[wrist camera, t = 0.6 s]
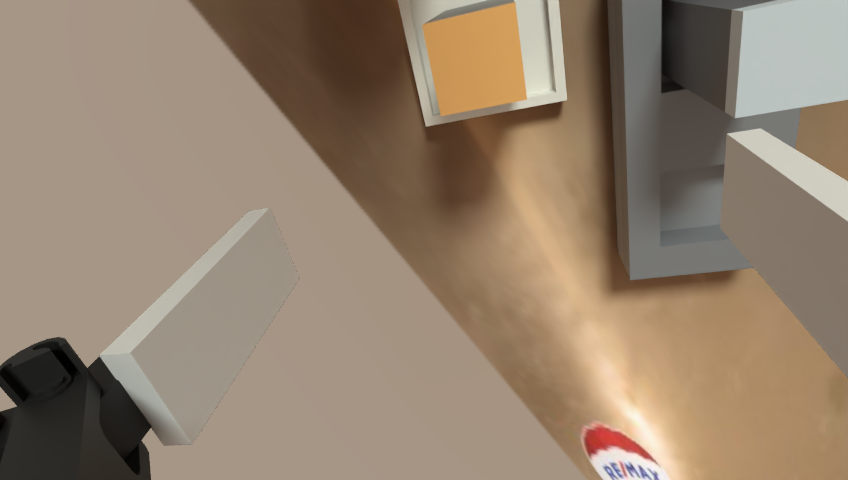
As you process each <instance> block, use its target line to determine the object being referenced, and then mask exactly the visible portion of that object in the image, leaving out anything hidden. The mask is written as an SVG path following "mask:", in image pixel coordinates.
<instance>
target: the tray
mask: <svg viewBox="0 0 848 480" xmlns="http://www.w3.org/2000/svg"><path fill="white" fill-rule="evenodd" d="M482 1H487V0H398V5H399V9H400V13H401V18H402V22H403V27H404V31H405V36H406V40H407V45H408V49H409V54H410V58H411V63H412V67H413V71H414V76H415V80H416V85H417V89H418V94H419V98H420V103H421V107H422V112H423V116H424V121H425V125H426V127H427V126H432V125H438V124H443V123H448V122H454V121H459V120H464V119H470V118H475V117H480V116H486V115H491V114H496V113H502V112H507V111H512V110H517V109H523V108H528V107H533V106H539V105H544V104H549V103H555V102H560V101H565V100H567V94H566V82H565V70H564V58H563V46H562V34H561V22H560V10H559V0H514V1H515V4H516V12H517V20H518V29H519V37H520V45H521V53H522V61H523V70H524V78H525V86H526V94H527V100H523V101H518V102H512V103H507V104H502V105H497V106H491V107H486V108H481V109H476V110H471V111H465V112H460V113H455V114H450V115H445V116H441V115H440V110H439V105H438V100H437V96H436V91H435V86H434V81H433V76H432V71H431V67H430V62H429V57H428V52H427V47H426V42H425V38H424V33H423V28H422V25H423V24H425V23H426V22H428V21H429V20H431V19H433V18H434V17H436V16H437V15H439V14H441V13H442V12H444V11H446V10H450V9H454V8H458V7H462V6H466V5H470V4H474V3H478V2H482Z"/></svg>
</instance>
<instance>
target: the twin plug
mask: <svg viewBox="0 0 848 480" xmlns="http://www.w3.org/2000/svg"><path fill="white" fill-rule="evenodd" d="M662 74H663V75H664V76H666V77H668V78H669V79H671V80H673V81H674V82H676V83H678V84H679V85H681V86H683V87H684V88H686V89H687V90H689V91H691V92H692V93H694V94H696V95H697V96H699V97H701V98H702V99H704V100H706V101H707V102H709V103H711V104H712V105H714V106H716V107H717V108H719V109H720V110H722V111H724V112H725V113H727V114H729V115H730V116H732V117H734V118H740V117H746V116H752V115H758V114H764V113H770V112H776V111H782V110H788V109H794V108H800V107H806V106H812V105H818V104H824V103H830V102H836V101H842V100H848V0H663V10H662Z"/></svg>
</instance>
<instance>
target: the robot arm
mask: <svg viewBox="0 0 848 480" xmlns="http://www.w3.org/2000/svg"><path fill="white" fill-rule="evenodd" d="M720 228H721V230H722V231H723V232H724V233H725V234H726V236H727V237H728V238H729V239H730V240H731V241H732V243H733V244H734V245H735V246H736V247H737V248H738V250H739V251H740V252H741V253H742V254H743V256H744V257H745V258H746V259H747V260H748V261H749V263H750V264H751V265H752V266H753V267H754V268H755V270H756V271H757V272H758V273H759V274H760V275H761V277H762V278H763V279H764V280H765V281H766V283H767V284H768V285H769V286H770V287H771V288H772V290H773V291H774V292H775V293H776V294H777V295H778V297H779V298H780V299H781V300H782V301H783V303H784V304H785V305H786V306H787V307H788V308H789V310H790V311H791V312H792V313H793V314H794V315H795V317H796V318H797V319H798V320H799V321H800V323H801V324H802V325H803V326H804V327H805V328H806V330H807V331H808V332H809V333H810V334H811V335H812V337H813V338H814V339H815V340H816V341H817V342H818V344H819V345H820V346H821V347H822V348H823V350H824V351H825V352H826V353H827V354H828V355H829V357H830V358H831V359H832V360H833V361H834V362H835V364H836V365H837V366H838V367H839V368H840V370H841V371H842V372H843V373H844V374H845V375H846V377H847V378H848V181H846V180H845V179H843V178H841V177H840V176H838V175H836V174H835V173H833V172H831V171H830V170H828V169H827V168H825V167H823V166H822V165H820V164H818V163H817V162H815V161H813V160H812V159H810V158H809V157H807V156H805V155H804V154H802V153H800V152H799V151H797V150H795V149H794V148H792V147H790V146H789V145H787V144H786V143H784V142H782V141H781V140H779V139H777V138H776V137H774V136H772V135H771V134H769V133H768V132H766V131H764V130H763V129H761V128H759V129H753V130H747V131H741V132H734V133H728V134H727V138H726V152H725V165H724V179H723V192H722V205H721V219H720ZM298 280H299V276H298V274H297V271H296V269H295V266H294V264H293V262H292V259H291V257H290V254H289V252H288V250H287V247H286V245H285V242H284V240H283V238H282V235H281V233H280V231H279V228H278V226H277V223H276V221H275V218H274V216H273V214H272V211H271V209H270V208H264V209H258V210H251V211H248V212H247V213H246V214H245V215H244V216H243V217H242V218H241V219H240V220H239V221H238V222H237V223H236V224H235V225H234V226H233V227H232V228H231V229H230V230H229V231H228V232H226V233H225V234H224V235H223V236H222V237H221V238H220V239H219V240H218V241H217V242H216V243H215V244H214V245H213V246H212V247H211V248H210V249H209V250H208V251H207V252H206V253H205V254H204V255H203V256H202V257H201V258H200V259H198V261H197V262H195V263H194V264H193V265H192V266H191V267H190V268H189V269H188V270H187V271H186V272H185V273H184V274H183V275H182V276H181V277H180V278H179V279H178V280H177V281H176V282H175V283H174V284H173V285H172V286H171V287H169V288H168V290H166V291H165V293H163V294H162V295H161V296H160V297H159V298H158V299H157V300H156V301H155V302H154V303H153V304H152V305H151V306H150V307H149V308H148V309H147V310H146V311H145V312H144V313H143V314H142V315H140V317H138V318H137V319H136V320H135V321H134V322H133V323H132V324H131V325H130V326H129V327H128V328H127V329H126V330H125V331H124V332H123V333H122V334H121V335H120V336H119V337H118V338H117V339H116V340H115V341H114V342H112V343H111V344H110V345H109V346H108V347H107V348H106V349H105V350H104V351H103V352H102V353H101V354H100V355H99V357H98V358H97V359H96V360H95V361H94V362H93V363H92V364H91V365H90V366H89V367H88V368H87V367H86V366H85V365H84V364H83V362H82V361H81V359H80V358H79V357H78V355H77V354H76V353H75V351H74V350H73V349H72V347H71V346H70V345H69V343H68V342H67V341H66V339H64V338H60V337H57V338H51V339H47V340H44V341H41V342H38V343H36V344H34V345H31V346H29V347H28V348H26V349H24V350H22V351H20V352H18V353H17V354H15V355H14V356H12V357H11V358H9V359H8V360H6V361H5V362H4V363H3V364H2V365H1V366H0V387H1V388H2V389H3V390H4V392H5V393H6V394H7V395H8V396H9V397H10V398H11V399H12V401H13V402H14V403H15V404H16V405H17V407H14V408H12V409H8V410H5V411H1V412H0V480H151V474H150V461H149V452H148V450H147V448H146V446H145V445H144V444H143V442H142V441H141V440H142V438H143V437H144V436H145V434H146V433H147V432H148V431H149V429H150V428H152V430H153V431H154V432H155V434H156V435H157V437H158V438H159V439H160V441H161V442H162V444H163V445H192V444H193V443H194V441H195V440H196V438H197V437H198V435H199V433H200V432H201V430H202V429H203V427H204V426H205V424H206V423H207V421H208V420H209V418H210V416H211V415H212V413H213V412H214V410H215V409H216V407H217V406H218V404H219V403H220V401H221V399H222V398H223V396H224V395H225V393H226V392H227V390H228V388H229V387H230V385H231V384H232V382H233V381H234V379H235V378H236V376H237V374H238V373H239V372H240V370H241V369H242V367H243V365H244V364H245V362H246V361H247V359H248V358H249V356H250V355H251V353H252V351H253V350H254V348H255V347H256V345H257V344H258V342H259V341H260V339H261V338H262V336H263V334H264V333H265V331H266V330H267V328H268V327H269V325H270V324H271V322H272V320H273V319H274V317H275V316H276V314H277V313H278V311H279V310H280V308H281V307H282V305H283V303H284V302H285V300H286V299H287V297H288V296H289V294H290V293H291V291H292V289H293V288H294V286H295V285H296V283H297V282H298Z"/></svg>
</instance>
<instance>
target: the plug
mask: <svg viewBox="0 0 848 480" xmlns="http://www.w3.org/2000/svg"><path fill="white" fill-rule="evenodd" d="M422 28H423V33H424V38H425V42H426V47H427V52H428V57H429V62H430V67H431V71H432V76H433V81H434V86H435V91H436V96H437V100H438V105H439V110H440V115H441V116H445V115H450V114H455V113H460V112H465V111H471V110H476V109H481V108H486V107H491V106H497V105H502V104H507V103H512V102H518V101H523V100H527V94H526V86H525V78H524V70H523V61H522V53H521V45H520V37H519V29H518V20H517V12H516V4H515V1H514V0H487V1H482V2H478V3H474V4H470V5H466V6H462V7H458V8H454V9H450V10H446V11H444V12H442V13H441V14H439V15H437V16H436V17H434V18H433V19H431V20H429V21H428V22H426V23H425V24H423V25H422Z"/></svg>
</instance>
